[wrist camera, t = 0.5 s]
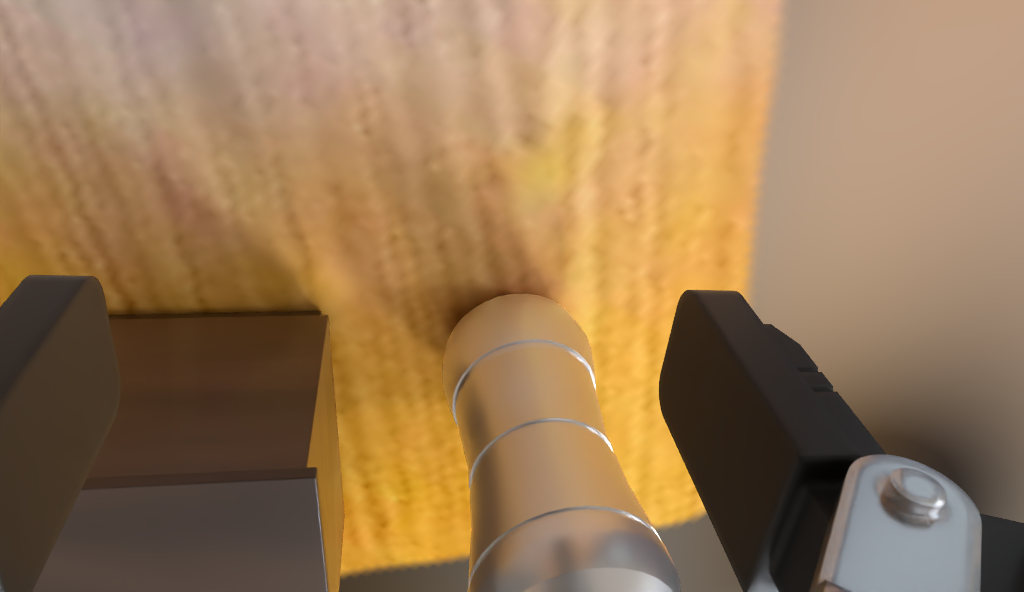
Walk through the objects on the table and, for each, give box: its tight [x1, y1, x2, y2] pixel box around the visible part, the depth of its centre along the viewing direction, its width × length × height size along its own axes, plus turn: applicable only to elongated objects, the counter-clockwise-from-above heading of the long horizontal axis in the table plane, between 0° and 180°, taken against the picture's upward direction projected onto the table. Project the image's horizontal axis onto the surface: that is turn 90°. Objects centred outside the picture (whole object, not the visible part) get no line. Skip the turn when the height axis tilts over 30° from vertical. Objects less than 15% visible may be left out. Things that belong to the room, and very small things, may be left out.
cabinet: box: [32, 311, 345, 592], centre depth 31 cm, size 13×12×11 cm
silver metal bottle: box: [442, 293, 681, 592], centre depth 27 cm, size 6×7×20 cm
